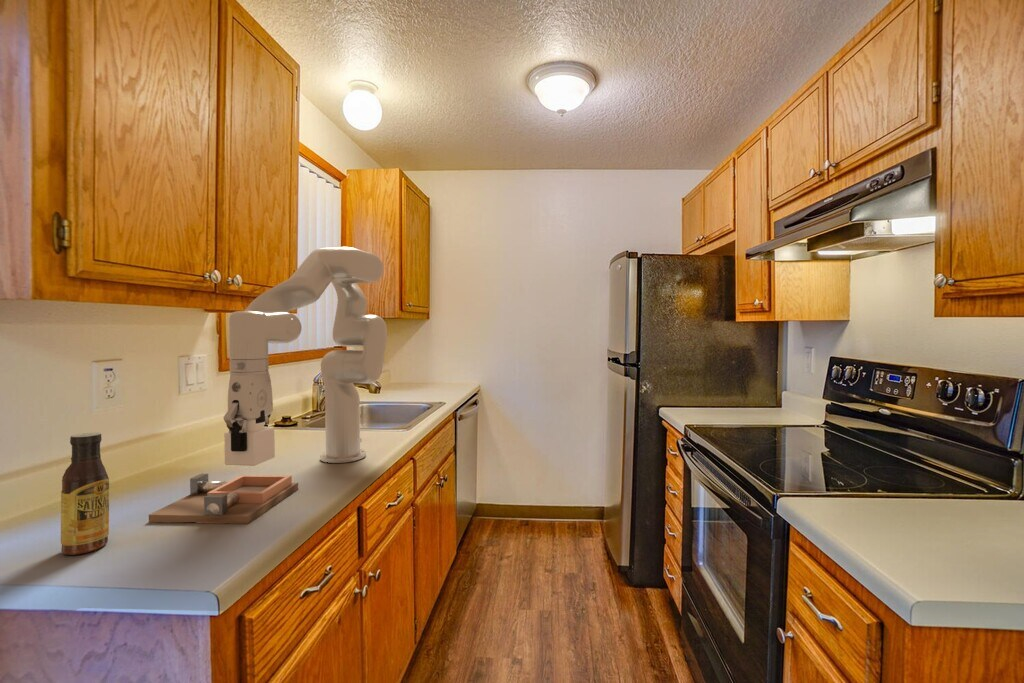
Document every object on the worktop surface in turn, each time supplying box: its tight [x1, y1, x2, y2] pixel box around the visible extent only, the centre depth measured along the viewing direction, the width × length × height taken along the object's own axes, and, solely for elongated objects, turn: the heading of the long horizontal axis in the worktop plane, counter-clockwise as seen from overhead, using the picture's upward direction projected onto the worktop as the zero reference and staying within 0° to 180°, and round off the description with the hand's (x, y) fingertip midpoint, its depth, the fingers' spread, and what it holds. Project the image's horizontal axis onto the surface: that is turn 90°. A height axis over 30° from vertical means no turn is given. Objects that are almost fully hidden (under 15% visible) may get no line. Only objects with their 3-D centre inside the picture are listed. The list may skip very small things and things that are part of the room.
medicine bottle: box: [224, 410, 276, 467], centre depth 105 cm, size 7×7×12 cm
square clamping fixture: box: [148, 473, 299, 525], centre depth 103 cm, size 20×20×5 cm
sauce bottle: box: [60, 432, 110, 556], centre depth 82 cm, size 6×6×20 cm
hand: (250, 445), depth 105 cm, fingers closed on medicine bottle, 7 cm apart
